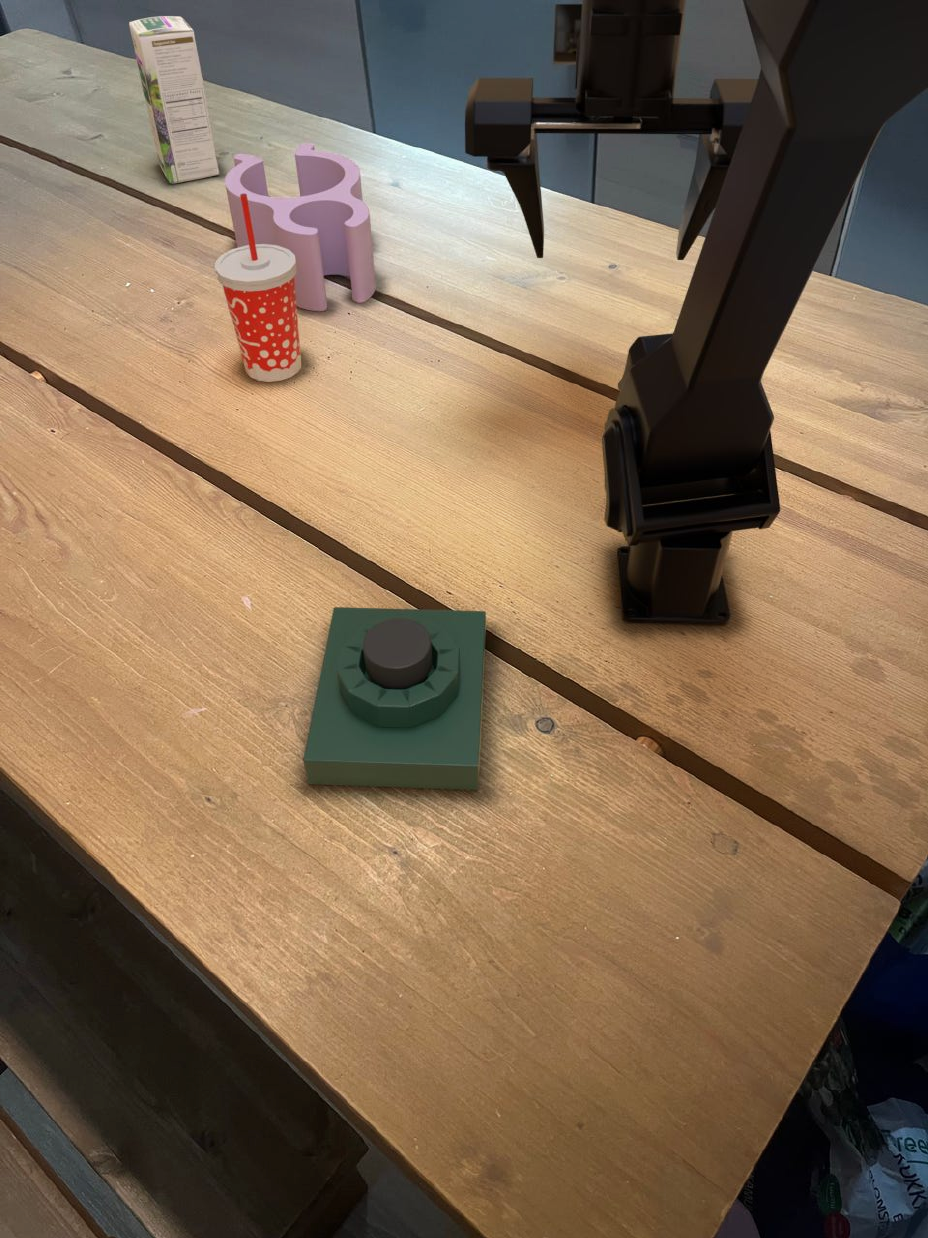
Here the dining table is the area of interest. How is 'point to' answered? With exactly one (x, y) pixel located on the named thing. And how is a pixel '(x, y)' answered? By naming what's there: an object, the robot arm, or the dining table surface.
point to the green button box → (399, 707)
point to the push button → (397, 653)
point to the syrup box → (175, 97)
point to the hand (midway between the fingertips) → (609, 256)
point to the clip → (309, 221)
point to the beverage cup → (262, 305)
